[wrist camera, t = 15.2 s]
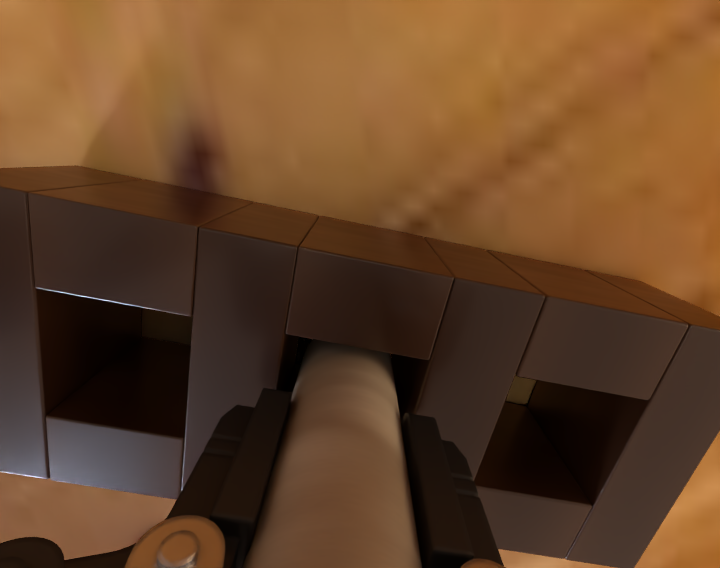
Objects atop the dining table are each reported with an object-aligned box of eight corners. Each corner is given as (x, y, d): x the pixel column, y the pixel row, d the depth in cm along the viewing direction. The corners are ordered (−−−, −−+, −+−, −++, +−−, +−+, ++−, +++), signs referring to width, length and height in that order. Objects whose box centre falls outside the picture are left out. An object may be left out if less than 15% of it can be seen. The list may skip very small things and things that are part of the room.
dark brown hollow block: (83, 375, 16) (-34, 468, 11) (75, 165, 13) (-84, 170, 8) (558, 457, 17) (633, 571, 13) (641, 281, 15) (777, 341, 10)
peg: (292, 397, 13) (19, 1366, 3) (307, 314, 12) (-45, 1351, 2) (383, 413, 13) (464, 1367, 3) (405, 332, 12) (658, 1362, 2)
